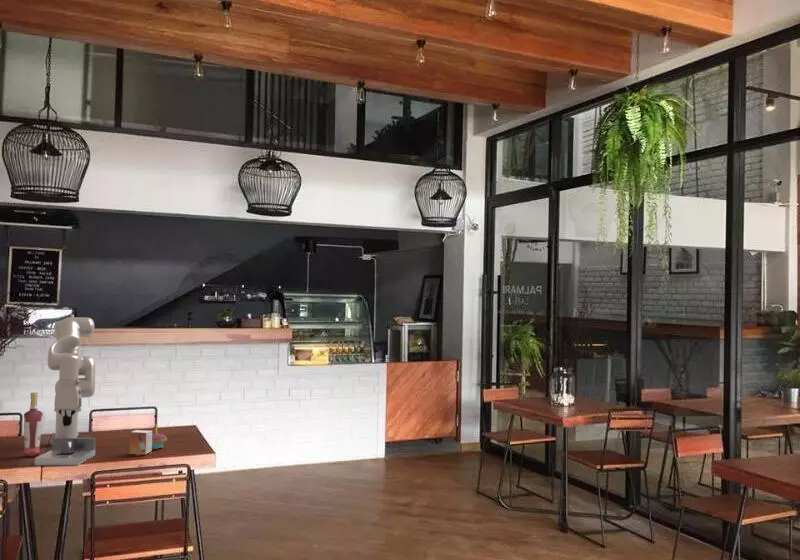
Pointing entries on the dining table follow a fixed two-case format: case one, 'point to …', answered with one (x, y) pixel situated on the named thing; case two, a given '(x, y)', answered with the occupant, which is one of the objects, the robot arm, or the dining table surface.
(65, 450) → the bushing
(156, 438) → the cupcake
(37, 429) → the liquor
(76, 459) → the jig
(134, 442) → the small box
